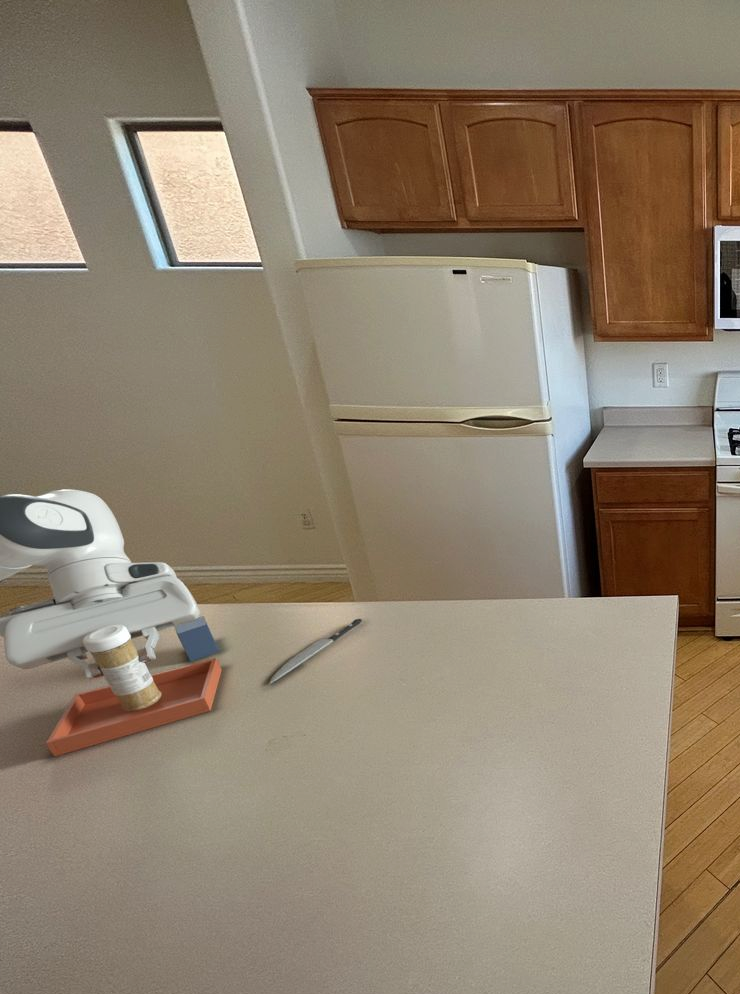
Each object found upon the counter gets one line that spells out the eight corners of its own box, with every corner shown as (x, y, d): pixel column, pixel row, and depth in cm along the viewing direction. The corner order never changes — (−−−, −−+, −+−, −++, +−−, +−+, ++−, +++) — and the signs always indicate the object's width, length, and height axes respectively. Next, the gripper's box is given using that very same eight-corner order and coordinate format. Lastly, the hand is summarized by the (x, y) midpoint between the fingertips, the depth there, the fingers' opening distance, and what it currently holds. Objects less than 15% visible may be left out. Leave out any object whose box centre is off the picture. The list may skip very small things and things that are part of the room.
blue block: (190, 661, 98) (176, 634, 95) (187, 652, 100) (173, 624, 98) (219, 651, 100) (207, 624, 98) (215, 642, 103) (203, 615, 100)
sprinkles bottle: (138, 694, 88) (99, 624, 83) (170, 691, 89) (133, 622, 83) (114, 714, 84) (71, 643, 79) (148, 711, 85) (108, 640, 79)
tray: (54, 756, 79) (45, 743, 77) (82, 706, 87) (74, 694, 86) (210, 710, 87) (204, 698, 86) (222, 669, 96) (216, 657, 95)
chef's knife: (256, 683, 93) (269, 685, 92) (253, 678, 93) (266, 680, 92) (352, 620, 110) (364, 622, 109) (350, 615, 109) (362, 617, 108)
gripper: (-19, 606, 77) (7, 697, 74) (178, 559, 90) (205, 635, 87) (4, 619, 82) (28, 705, 79) (188, 573, 94) (214, 645, 92)
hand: (123, 668), depth 83 cm, fingers closed on sprinkles bottle, 4 cm apart
